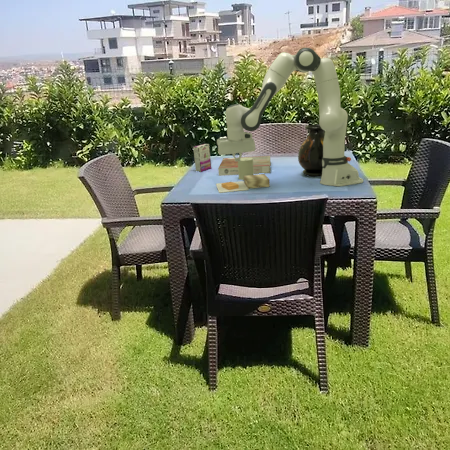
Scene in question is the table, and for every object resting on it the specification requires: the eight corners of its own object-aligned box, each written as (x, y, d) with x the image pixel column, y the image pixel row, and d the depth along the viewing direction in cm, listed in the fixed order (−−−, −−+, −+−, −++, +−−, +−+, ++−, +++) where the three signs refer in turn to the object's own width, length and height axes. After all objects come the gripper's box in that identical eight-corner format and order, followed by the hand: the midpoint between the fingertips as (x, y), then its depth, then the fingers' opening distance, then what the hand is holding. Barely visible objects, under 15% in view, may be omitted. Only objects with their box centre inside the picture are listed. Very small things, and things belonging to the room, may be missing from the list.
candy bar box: (206, 168, 300) (203, 143, 295) (211, 168, 298) (209, 144, 292) (195, 171, 292) (192, 146, 287) (200, 172, 289) (198, 147, 284)
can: (240, 180, 259) (239, 160, 255) (237, 177, 267) (235, 157, 263) (255, 178, 260) (254, 158, 256) (251, 175, 269) (250, 156, 265)
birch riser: (264, 180, 254) (264, 173, 253) (269, 186, 241) (269, 179, 240) (244, 182, 253) (243, 176, 252) (247, 188, 240) (247, 181, 239)
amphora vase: (336, 177, 248) (336, 127, 239) (297, 178, 253) (296, 129, 244) (335, 169, 268) (335, 122, 259) (299, 170, 273) (298, 124, 263)
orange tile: (231, 185, 249) (231, 181, 248) (238, 188, 241) (238, 184, 240) (221, 186, 246) (221, 183, 246) (228, 190, 239) (228, 186, 238)
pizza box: (218, 168, 274) (223, 158, 304) (218, 176, 276) (224, 165, 306) (270, 165, 270) (270, 155, 300) (270, 173, 272) (270, 163, 302)
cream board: (243, 181, 256) (243, 180, 256) (248, 190, 237) (248, 189, 237) (215, 184, 255) (215, 183, 255) (219, 193, 236) (219, 192, 236)
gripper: (217, 138, 233) (219, 164, 238) (255, 134, 235) (256, 160, 239) (215, 137, 239) (218, 162, 243) (253, 133, 241) (254, 158, 245)
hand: (237, 161), depth 241 cm, fingers closed
